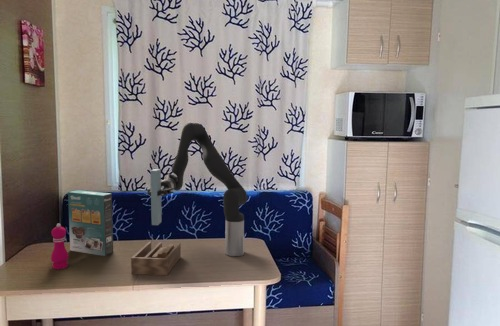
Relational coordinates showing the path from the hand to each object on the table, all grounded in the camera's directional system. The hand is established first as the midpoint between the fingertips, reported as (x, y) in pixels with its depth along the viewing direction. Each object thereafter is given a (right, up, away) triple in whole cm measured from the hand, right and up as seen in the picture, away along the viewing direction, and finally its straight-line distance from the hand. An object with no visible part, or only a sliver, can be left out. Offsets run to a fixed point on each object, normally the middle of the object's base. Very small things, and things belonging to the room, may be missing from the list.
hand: (154, 193), depth 190 cm
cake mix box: (-35, -30, +15) cm, 49 cm away
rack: (+3, -32, -2) cm, 33 cm away
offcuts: (+5, -33, -3) cm, 33 cm away
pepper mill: (-41, -33, -7) cm, 53 cm away
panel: (0, -15, +5) cm, 15 cm away
